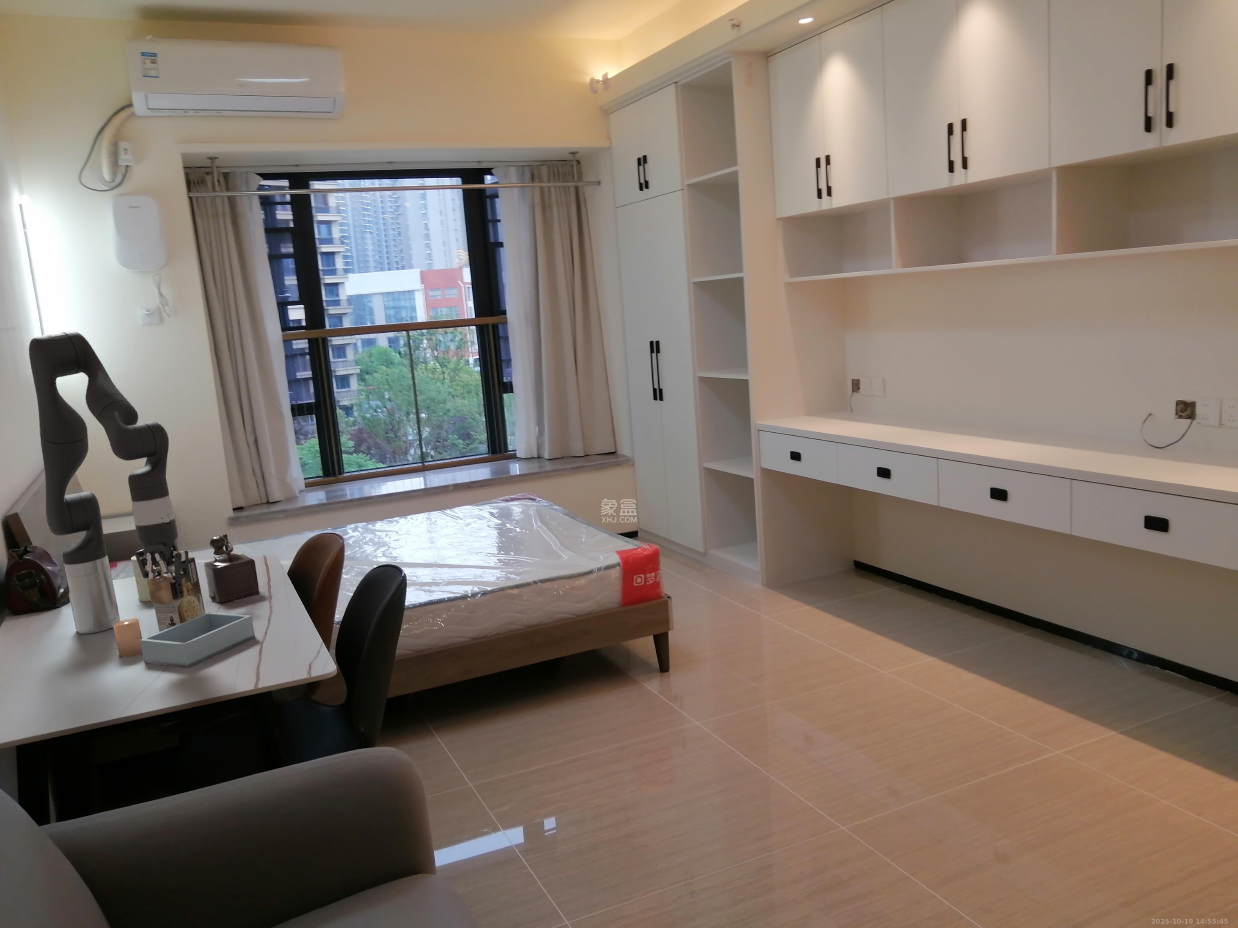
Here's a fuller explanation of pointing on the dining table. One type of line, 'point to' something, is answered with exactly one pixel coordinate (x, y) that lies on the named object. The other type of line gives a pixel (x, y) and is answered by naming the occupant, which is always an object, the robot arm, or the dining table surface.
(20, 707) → the dining table surface
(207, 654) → the tote
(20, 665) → the dining table surface
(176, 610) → the coffee box
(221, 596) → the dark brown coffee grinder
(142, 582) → the can
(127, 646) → the peach rounded cylinder
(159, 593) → the walnut cube
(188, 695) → the dining table surface
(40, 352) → the robot arm
